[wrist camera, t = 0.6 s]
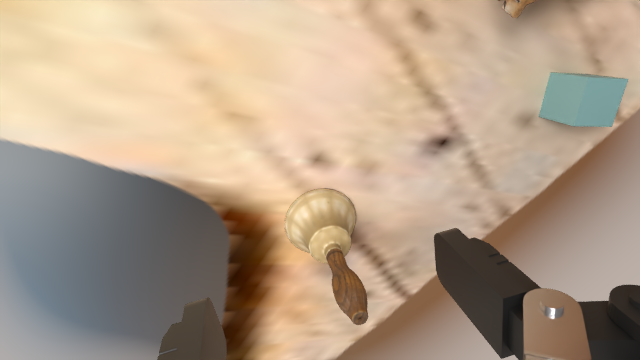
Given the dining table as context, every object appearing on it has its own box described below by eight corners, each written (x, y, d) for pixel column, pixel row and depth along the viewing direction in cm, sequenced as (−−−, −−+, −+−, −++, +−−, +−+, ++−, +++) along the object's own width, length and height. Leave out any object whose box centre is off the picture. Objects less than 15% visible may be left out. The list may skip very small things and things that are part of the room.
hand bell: (293, 260, 44) (321, 373, 29) (276, 199, 40) (299, 292, 26) (360, 241, 45) (419, 341, 30) (348, 179, 41) (409, 259, 27)
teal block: (550, 72, 42) (588, 77, 37) (586, 74, 43) (628, 79, 38) (538, 116, 44) (573, 126, 39) (573, 117, 45) (611, 126, 40)
